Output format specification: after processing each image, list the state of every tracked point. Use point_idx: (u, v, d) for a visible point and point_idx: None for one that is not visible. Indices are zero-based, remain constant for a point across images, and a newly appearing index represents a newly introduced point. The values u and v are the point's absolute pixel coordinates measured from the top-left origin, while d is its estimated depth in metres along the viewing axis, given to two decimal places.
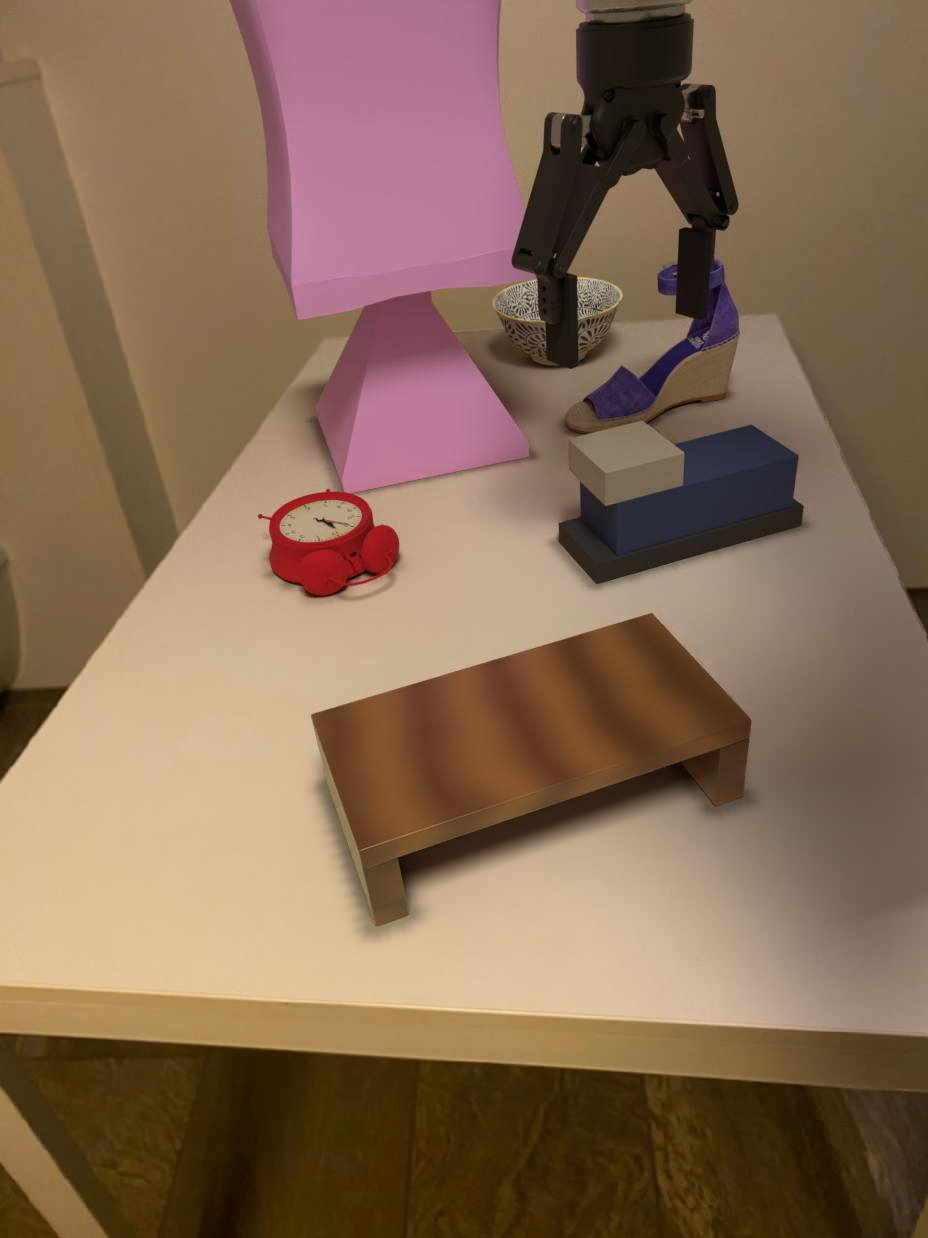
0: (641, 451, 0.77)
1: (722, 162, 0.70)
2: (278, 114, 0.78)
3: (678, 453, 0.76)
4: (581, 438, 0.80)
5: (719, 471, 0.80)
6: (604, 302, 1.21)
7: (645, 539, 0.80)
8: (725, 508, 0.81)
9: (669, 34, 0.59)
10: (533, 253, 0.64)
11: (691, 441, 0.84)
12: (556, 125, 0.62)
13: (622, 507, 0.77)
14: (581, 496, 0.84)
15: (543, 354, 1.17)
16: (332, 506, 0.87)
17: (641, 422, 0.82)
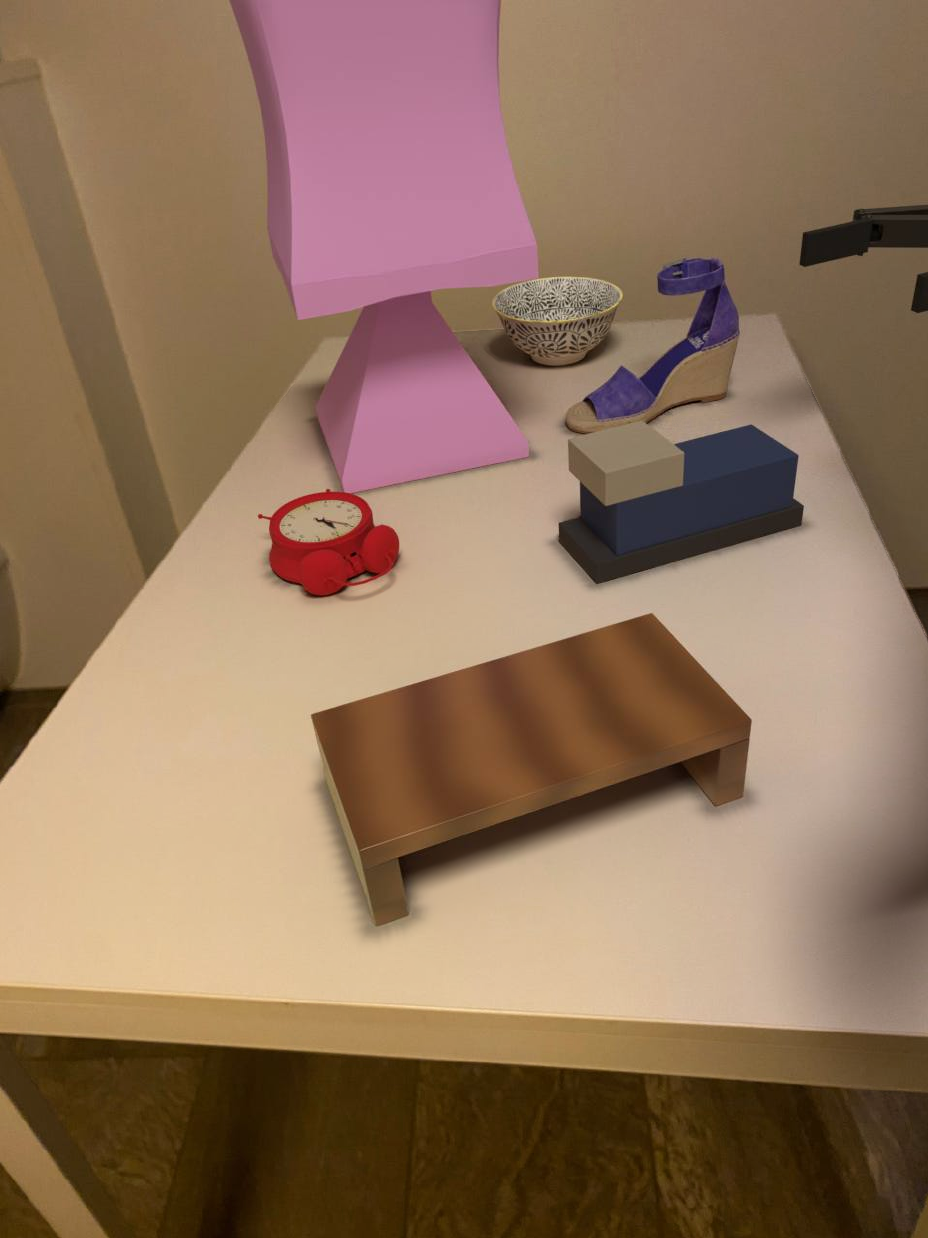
0: (640, 451, 0.77)
1: None
2: (278, 114, 0.78)
3: (678, 453, 0.76)
4: (580, 438, 0.80)
5: (719, 471, 0.80)
6: (604, 302, 1.21)
7: (645, 539, 0.80)
8: (725, 508, 0.81)
9: None
10: None
11: (691, 441, 0.84)
12: None
13: (622, 507, 0.77)
14: (581, 496, 0.84)
15: (543, 354, 1.17)
16: (332, 506, 0.87)
17: (641, 422, 0.82)
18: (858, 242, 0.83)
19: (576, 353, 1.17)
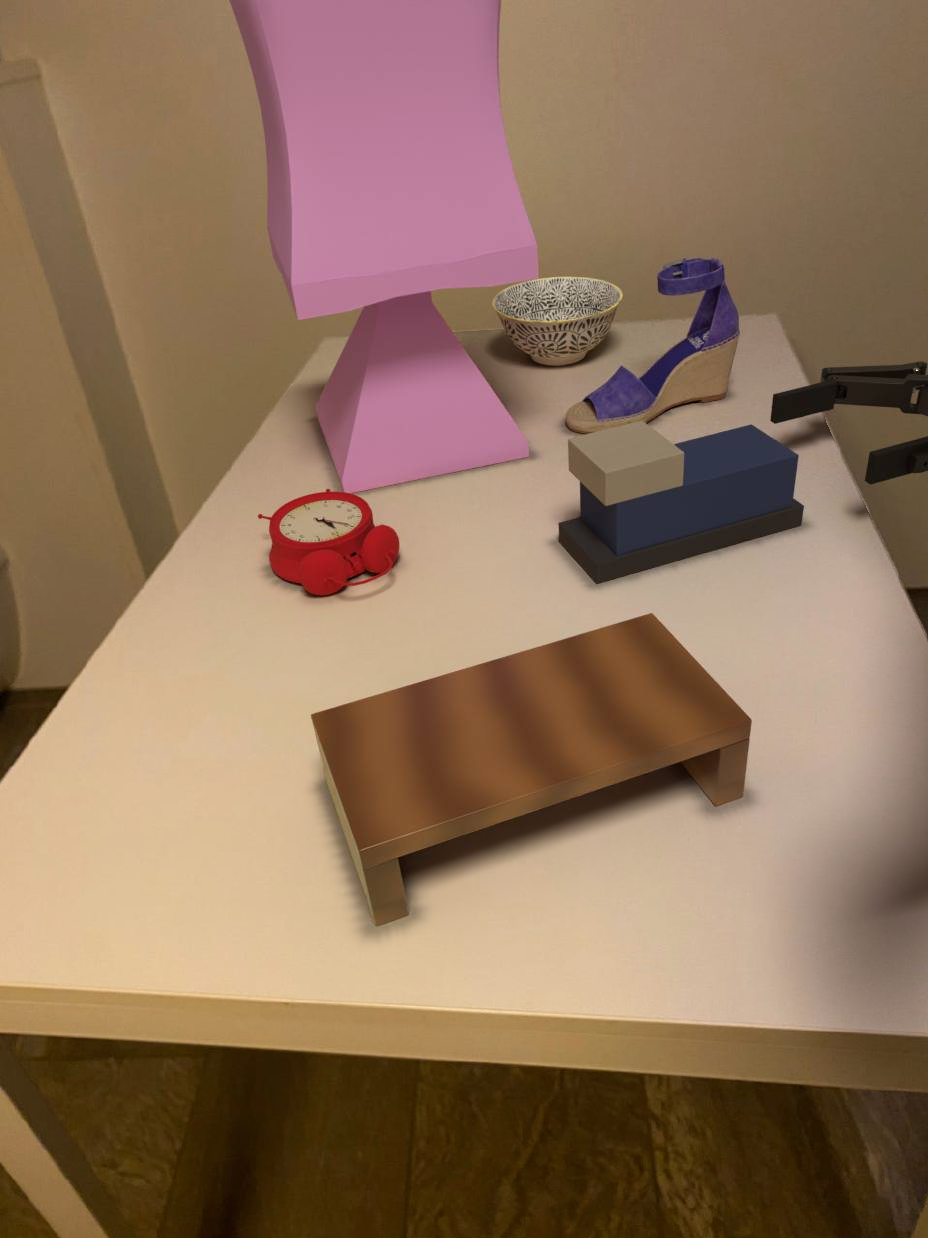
0: (640, 451, 0.77)
1: None
2: (278, 114, 0.78)
3: (678, 453, 0.76)
4: (580, 438, 0.80)
5: (719, 471, 0.80)
6: (604, 302, 1.21)
7: (645, 539, 0.80)
8: (725, 508, 0.81)
9: None
10: None
11: (691, 441, 0.84)
12: None
13: (622, 507, 0.77)
14: (581, 496, 0.84)
15: (543, 354, 1.17)
16: (332, 506, 0.87)
17: (641, 422, 0.82)
18: (824, 401, 0.91)
19: (576, 353, 1.17)
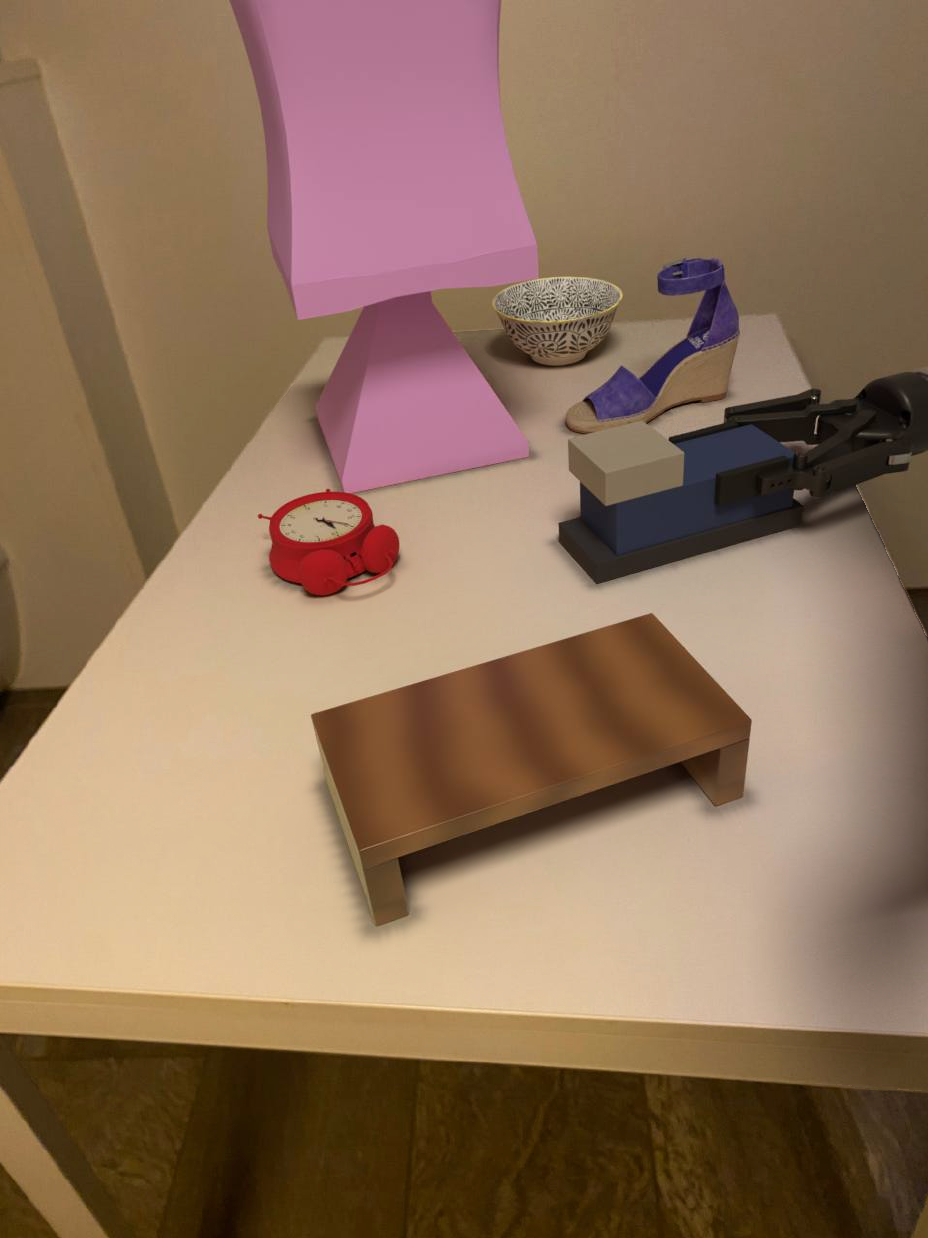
0: (640, 451, 0.77)
1: (856, 456, 0.79)
2: (278, 114, 0.78)
3: (678, 453, 0.76)
4: (581, 438, 0.80)
5: (719, 471, 0.80)
6: (604, 302, 1.21)
7: (645, 539, 0.80)
8: (725, 508, 0.81)
9: (908, 373, 0.85)
10: None
11: (691, 441, 0.84)
12: None
13: (622, 507, 0.77)
14: (581, 496, 0.84)
15: (543, 354, 1.17)
16: (332, 506, 0.87)
17: (641, 422, 0.82)
18: None
19: (576, 353, 1.17)
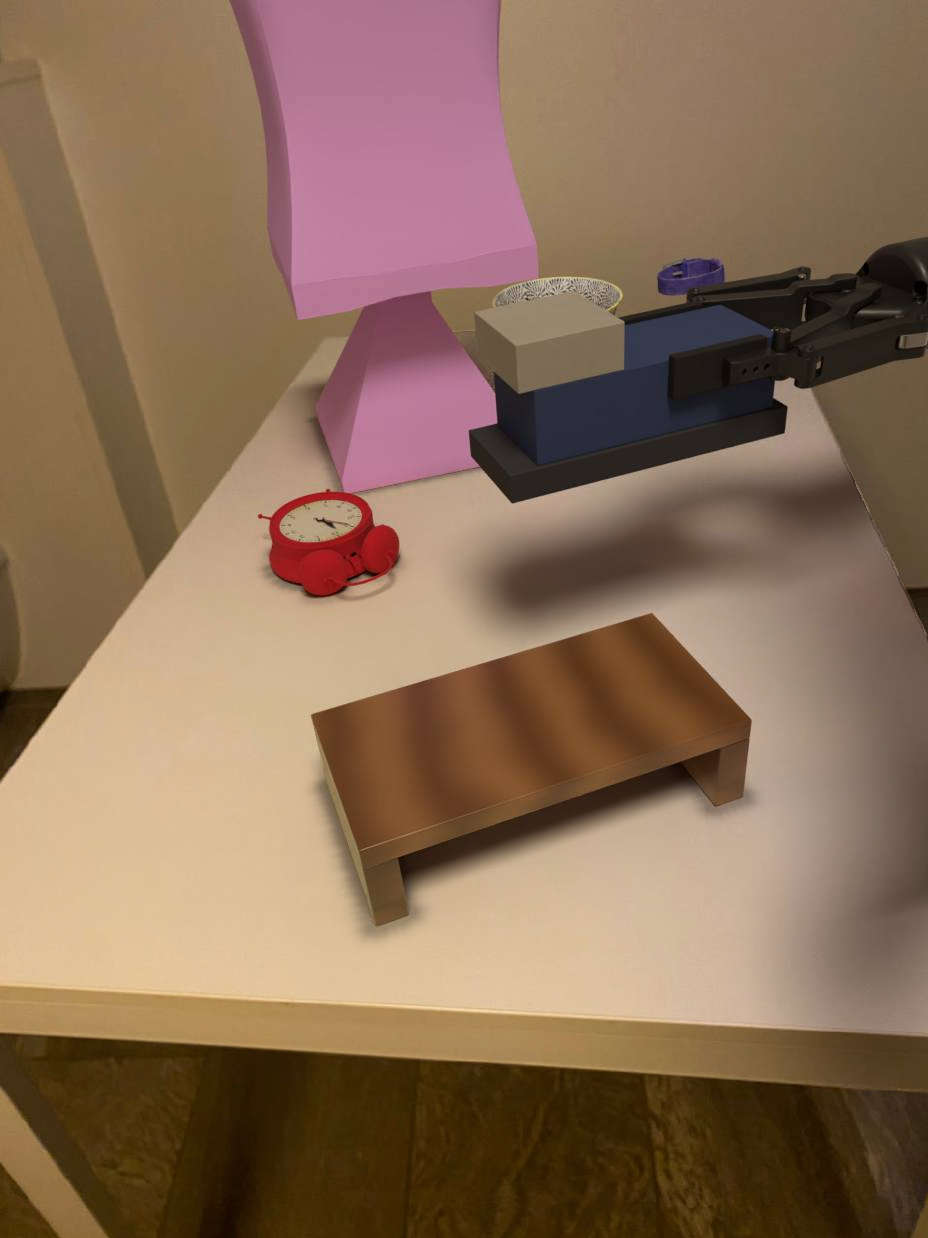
0: (567, 322, 0.58)
1: (856, 333, 0.60)
2: (278, 114, 0.78)
3: (616, 322, 0.57)
4: (491, 310, 0.60)
5: (674, 353, 0.60)
6: (604, 302, 1.21)
7: (576, 444, 0.60)
8: (683, 404, 0.61)
9: (924, 237, 0.66)
10: None
11: (641, 323, 0.65)
12: None
13: (542, 397, 0.58)
14: (496, 393, 0.64)
15: None
16: (332, 506, 0.87)
17: (572, 292, 0.62)
18: None
19: None
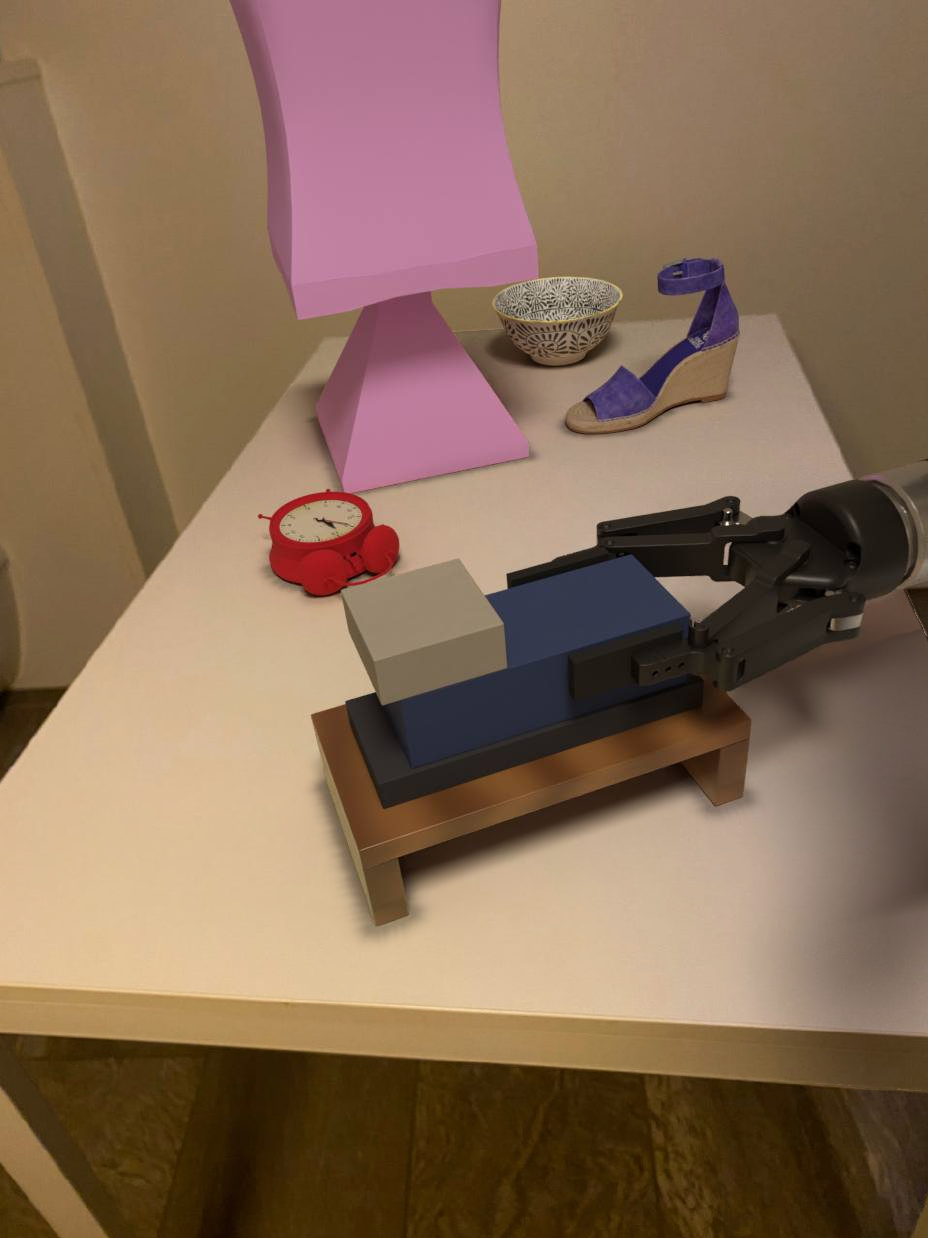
0: (439, 619, 0.50)
1: (781, 625, 0.52)
2: (278, 114, 0.78)
3: (494, 624, 0.49)
4: (359, 590, 0.53)
5: (567, 641, 0.52)
6: (604, 302, 1.21)
7: (456, 744, 0.53)
8: None
9: (860, 483, 0.58)
10: None
11: (539, 583, 0.57)
12: None
13: (411, 705, 0.50)
14: None
15: (543, 354, 1.17)
16: (333, 506, 0.87)
17: (456, 562, 0.54)
18: None
19: (576, 353, 1.17)
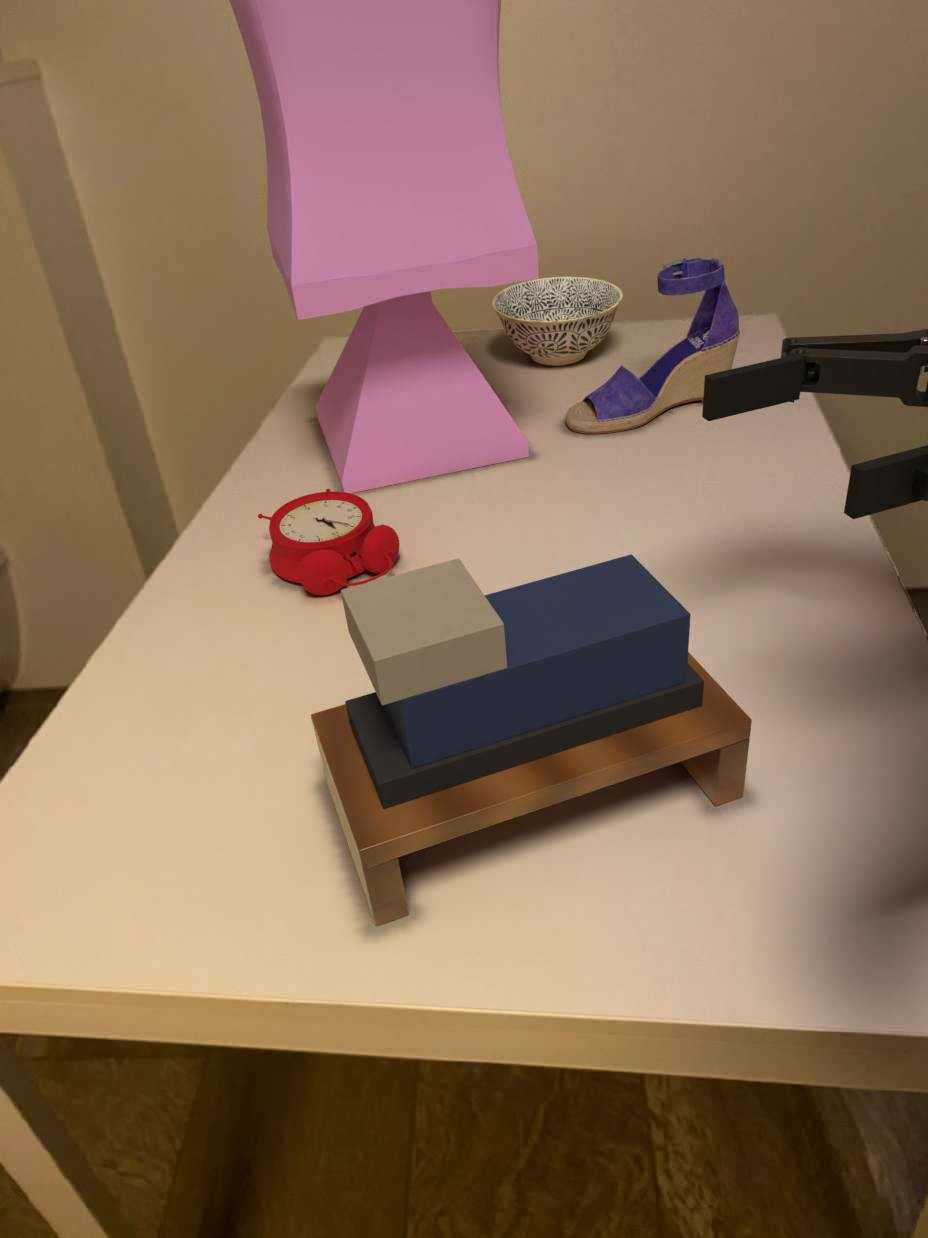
0: (439, 619, 0.50)
1: None
2: (278, 114, 0.78)
3: (494, 624, 0.49)
4: (359, 590, 0.53)
5: (567, 641, 0.52)
6: (604, 302, 1.21)
7: (456, 744, 0.53)
8: (581, 692, 0.54)
9: None
10: None
11: (539, 583, 0.57)
12: None
13: (411, 705, 0.50)
14: None
15: (543, 354, 1.17)
16: (332, 506, 0.87)
17: (456, 562, 0.54)
18: (785, 387, 0.60)
19: (576, 353, 1.17)
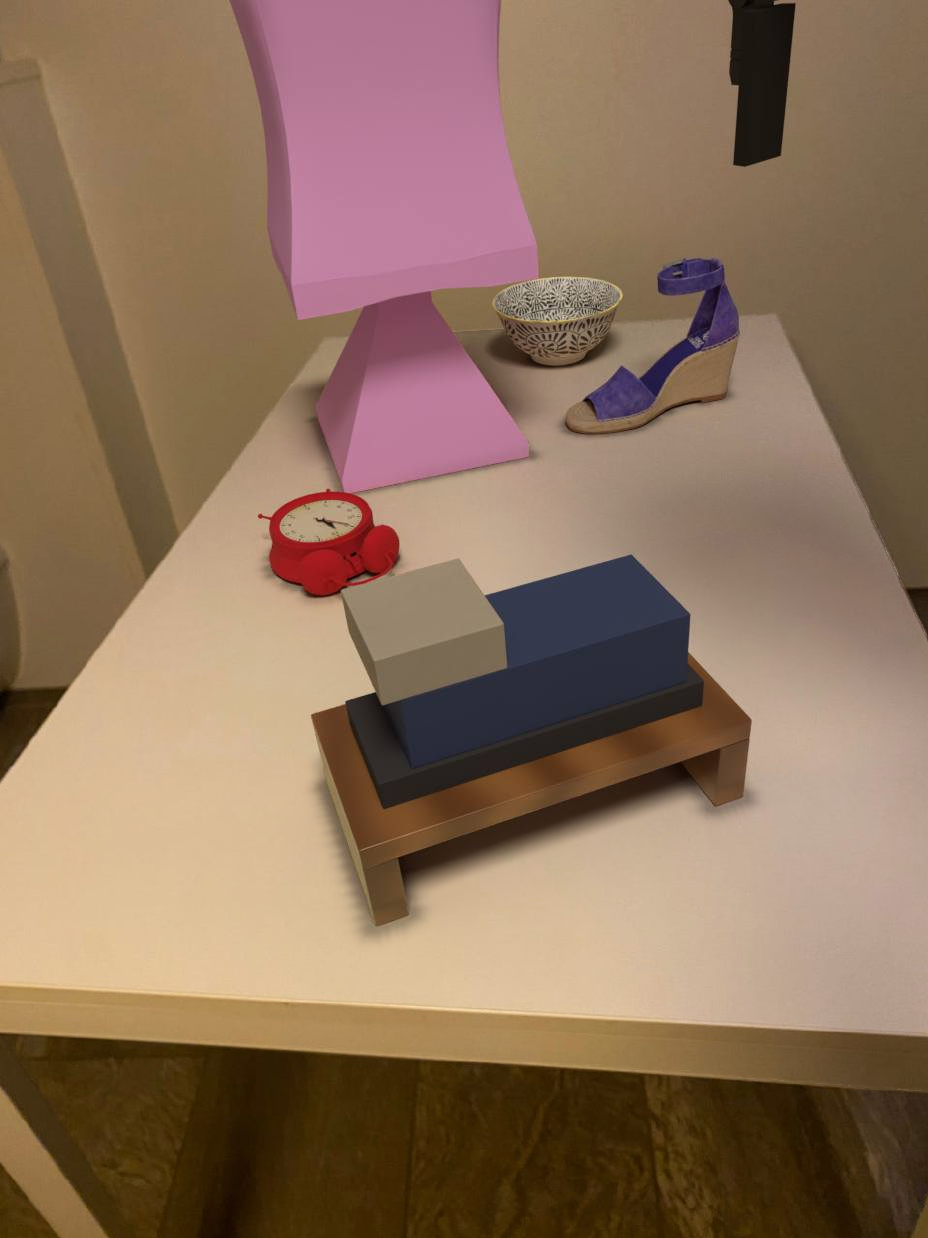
0: (439, 619, 0.50)
1: None
2: (278, 114, 0.78)
3: (494, 624, 0.49)
4: (359, 590, 0.53)
5: (567, 641, 0.52)
6: (604, 302, 1.21)
7: (456, 744, 0.53)
8: (581, 692, 0.54)
9: None
10: None
11: (539, 583, 0.57)
12: None
13: (411, 705, 0.50)
14: None
15: (543, 354, 1.17)
16: (332, 506, 0.87)
17: (456, 562, 0.54)
18: (778, 35, 0.45)
19: (576, 353, 1.17)
